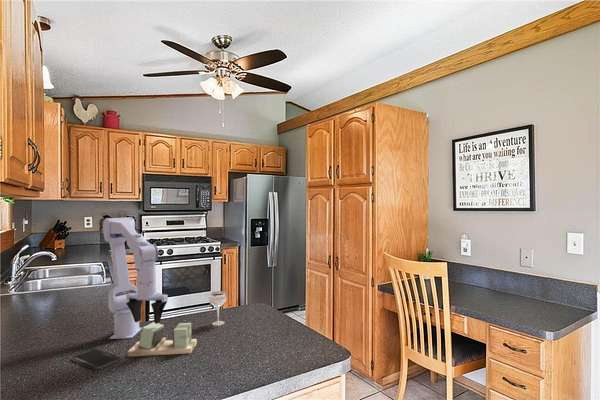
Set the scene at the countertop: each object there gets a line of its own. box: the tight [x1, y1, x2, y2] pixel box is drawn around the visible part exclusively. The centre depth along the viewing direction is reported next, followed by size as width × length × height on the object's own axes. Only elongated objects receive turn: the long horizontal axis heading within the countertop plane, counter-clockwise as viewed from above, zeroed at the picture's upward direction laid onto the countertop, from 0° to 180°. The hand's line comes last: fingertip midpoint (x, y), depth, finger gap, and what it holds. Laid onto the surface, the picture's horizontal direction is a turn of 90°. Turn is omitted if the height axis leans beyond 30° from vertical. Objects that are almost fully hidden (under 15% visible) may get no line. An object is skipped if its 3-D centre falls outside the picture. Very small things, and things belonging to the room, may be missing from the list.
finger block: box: [138, 321, 165, 349], centre depth 115 cm, size 5×6×6 cm
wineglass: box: [208, 290, 227, 326], centre depth 139 cm, size 7×7×12 cm
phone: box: [71, 348, 121, 371], centre depth 109 cm, size 8×1×15 cm
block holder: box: [127, 322, 198, 357], centre depth 116 cm, size 8×20×8 cm, turn 93°
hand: (147, 322), depth 116 cm, fingers open, 7 cm apart
